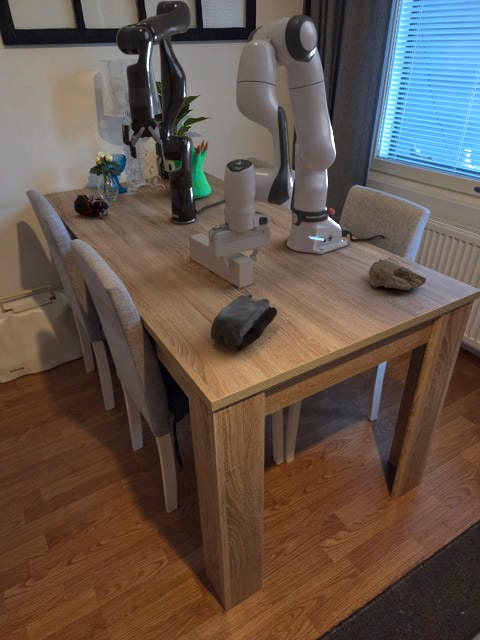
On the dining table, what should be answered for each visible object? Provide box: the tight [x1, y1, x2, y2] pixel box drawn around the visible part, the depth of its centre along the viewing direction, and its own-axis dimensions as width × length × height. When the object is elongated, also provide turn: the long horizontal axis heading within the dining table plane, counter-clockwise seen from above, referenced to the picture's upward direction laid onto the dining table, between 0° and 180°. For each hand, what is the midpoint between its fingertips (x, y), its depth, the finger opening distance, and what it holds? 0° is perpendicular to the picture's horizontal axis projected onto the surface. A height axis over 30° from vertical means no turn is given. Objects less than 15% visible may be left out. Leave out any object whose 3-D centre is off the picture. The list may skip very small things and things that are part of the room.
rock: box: [210, 294, 278, 352], centre depth 109 cm, size 18×11×8 cm, turn 152°
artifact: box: [368, 257, 427, 291], centre depth 135 cm, size 18×8×15 cm
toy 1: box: [73, 194, 111, 220], centre depth 187 cm, size 12×9×15 cm
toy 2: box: [168, 137, 212, 200], centre depth 210 cm, size 20×20×25 cm
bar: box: [188, 232, 254, 289], centre depth 142 cm, size 28×5×8 cm, turn 38°
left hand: (146, 156), depth 148 cm, fingers open, 8 cm apart
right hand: (240, 264), depth 135 cm, fingers open, 8 cm apart
